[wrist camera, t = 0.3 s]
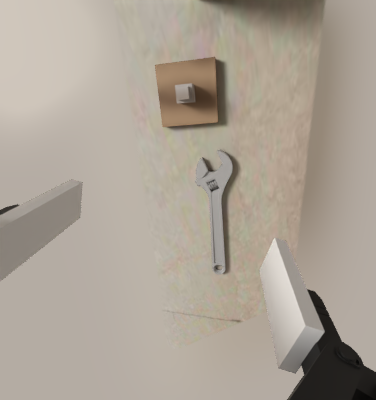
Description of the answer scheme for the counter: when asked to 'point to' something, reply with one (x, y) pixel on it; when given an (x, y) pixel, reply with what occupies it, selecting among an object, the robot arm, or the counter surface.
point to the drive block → (188, 92)
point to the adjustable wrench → (215, 203)
